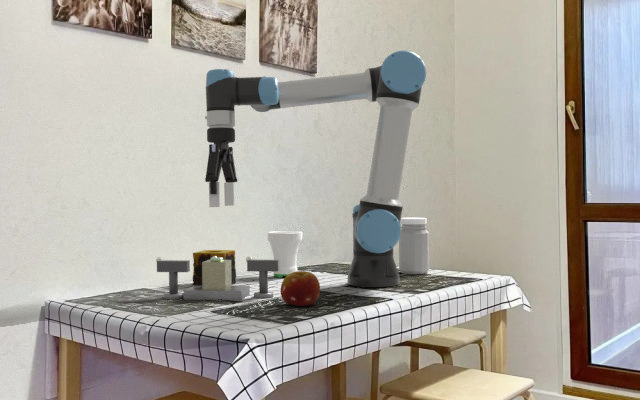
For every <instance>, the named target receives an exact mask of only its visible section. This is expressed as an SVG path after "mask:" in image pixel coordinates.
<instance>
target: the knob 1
mask: <svg viewBox="0 0 640 400" xmlns="http://www.w3.org/2000/svg"><path fill="white" fill-rule="evenodd" d="M155 259H156V260H155V261H156V262H155V263H156V273H168V291H169V292H165V293H163V299H164V300H179V299H184V292H179V277H178V275H179V274H178V273H188V272H190V271H191V266H190V265H191V264H190V260H186V259H185V260H183V259H182V260H181V259H179V260H177V259H176V260H174V259H173V260H171V259H164V257H162V256H157V258H155Z"/></svg>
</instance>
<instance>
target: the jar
mask: <svg viewBox="0 0 640 400" xmlns="http://www.w3.org/2000/svg"><path fill="white" fill-rule="evenodd" d="M427 220H428V219H427V218H426V217H401V221H400V225H401V236H400V239H399V241H398V270H399V271H400V273H401V274H402V275H403V274H405V275H425V274H427V273H428V271H429V270H430V232H429V231H428V230H427V228H428V226H426V225H427V224H428V221H427Z"/></svg>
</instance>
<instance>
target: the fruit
mask: <svg viewBox="0 0 640 400" xmlns="http://www.w3.org/2000/svg"><path fill="white" fill-rule="evenodd" d="M320 293H321V285H320V281H319V278H317V276H316V275H315V274H314V273H312V272H309V271H305V270H299V271H298V270H297V272H293V273H290V274H288V275H287V276H286V275H285V277H283V280H282V282H281V286H280V296H281V299H282V300H283V301H284V302H285V303H286V304H289V305H291V306H295V307H309V306H311V305H313V304H314V303H316V302H317V300H318V298H319V297H320Z"/></svg>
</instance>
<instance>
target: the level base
mask: <svg viewBox="0 0 640 400" xmlns="http://www.w3.org/2000/svg"><path fill="white" fill-rule="evenodd" d="M250 288H251V287H250V285H233V284H231V260H223V257H216V256H213V257H212V258H211V260H207V261H204V262H202V285H194V286H193V285H192V286H190V287H187V288H186V289H185V288H184V290H183V293H184V297H183V300H187V301H188V300H191V301H192V300H193V301H195V300H196V301H199V300H201V301H242V299H243V300H244V299H245V297H246V298H247V297H248V295H249V296H250V294H251V291H250ZM205 299H206V300H205ZM218 299H219V300H218ZM220 299H222V300H220Z"/></svg>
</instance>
